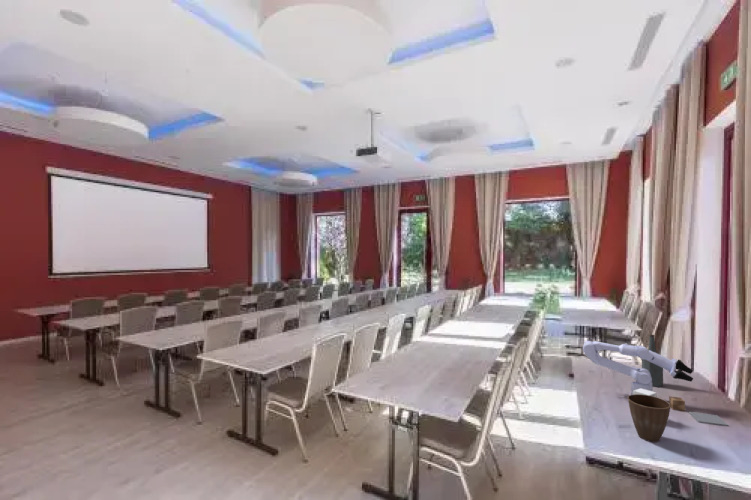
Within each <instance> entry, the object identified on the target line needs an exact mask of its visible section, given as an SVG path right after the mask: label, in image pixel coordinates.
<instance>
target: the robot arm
mask: <svg viewBox="0 0 751 500" xmlns="http://www.w3.org/2000/svg"><path fill="white" fill-rule="evenodd" d="M602 350H604V351H611V352H612V351H613V352H619V353H620V354H621V355H624V356H629V357H635V358H636V357H637V358H639V359H640V360H642V359H646V360H648V361H649V362H651V363H653V364H655V365H657V366H660V367H662V368H663V370H666V371H667V372H668V373H669V375H670V376H671V377H672V378H673V379H675V380H684V381H687V382H692V381H693V380H694V378H693V377H692V376H691V375H692V373H693V372H694V370H693V369H692V368H690V367H689V366H687V365H686V364H685V363H684V362H683V361H682V360H681V359H678V360H677V359H676V358H674V357H673V358H671V359H670V358H667V357H666V356H663V355H661V354H659V353H658V352H657V353H658V354H657V353H655V352H652V351H650V350H649V351H648V348H647V347H645V346H643V345H632V344H628V343H621V344H620V345H616V344H612V343H607V342H601V341H597V340H593V341H592V340H586V341H584V343H583V346H582V352H583V353H584V355H585V356H586V357H587V358H588V359H589V360H590V361H591V362H592V363H593V364H595V365H598V366H601V367H603V368H607V369H608V370H612V371H615V372H618V373H621V374H624V375H626V376H629V377H631V378H632V379H633V380H635V381H631V382H630V395H633V391H634V390H637V389H640V388H642V389H645V390H649V391H653V389H654V387H653V386H652V378H651V374H650V372H649V371H648V370H647V369H644V368H642V367H640V368H639V367H635V366H634V367H633V366H631V365H630V366H629V365H627V364H624V363H622V362H620V361H616V360H612V359H609V358H606V357H604V356H601V354H600V353H599V352H600V351H602ZM689 374H690V375H689ZM653 392H654V391H653Z"/></svg>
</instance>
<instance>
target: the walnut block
mask: <svg viewBox="0 0 751 500" xmlns="http://www.w3.org/2000/svg"><path fill="white" fill-rule="evenodd" d="M668 397H669V401H668V403H669V404H670V405H671V406H670V409H672V410H674V411H680V412H681V411H682V412H685V411H686V401H685V400H684V399H683V398H682V397H677V396H668Z"/></svg>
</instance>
